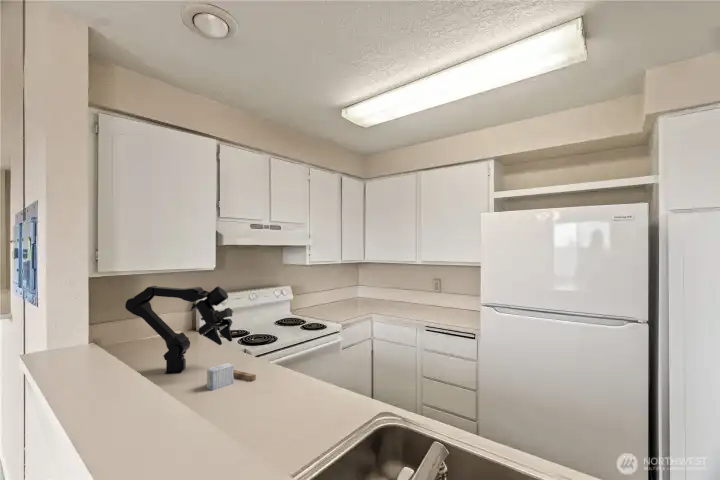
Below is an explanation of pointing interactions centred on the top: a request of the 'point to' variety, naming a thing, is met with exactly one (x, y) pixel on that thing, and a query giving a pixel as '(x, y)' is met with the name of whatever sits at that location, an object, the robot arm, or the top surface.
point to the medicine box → (220, 376)
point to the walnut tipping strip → (244, 375)
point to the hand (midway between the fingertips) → (226, 342)
